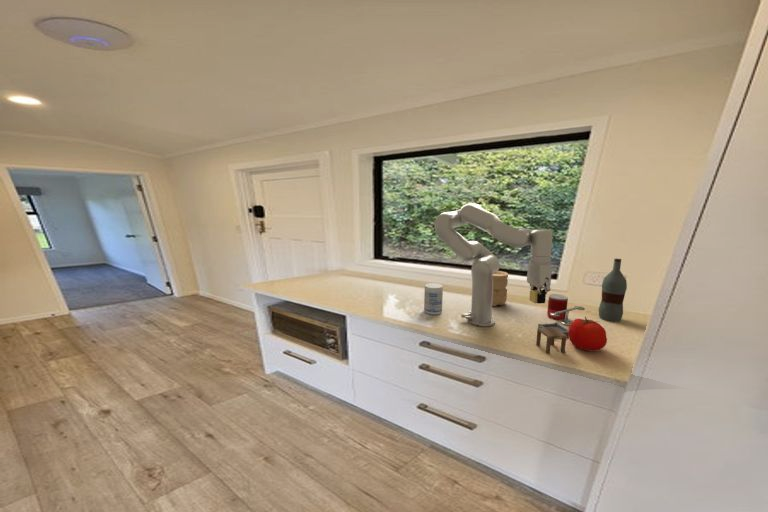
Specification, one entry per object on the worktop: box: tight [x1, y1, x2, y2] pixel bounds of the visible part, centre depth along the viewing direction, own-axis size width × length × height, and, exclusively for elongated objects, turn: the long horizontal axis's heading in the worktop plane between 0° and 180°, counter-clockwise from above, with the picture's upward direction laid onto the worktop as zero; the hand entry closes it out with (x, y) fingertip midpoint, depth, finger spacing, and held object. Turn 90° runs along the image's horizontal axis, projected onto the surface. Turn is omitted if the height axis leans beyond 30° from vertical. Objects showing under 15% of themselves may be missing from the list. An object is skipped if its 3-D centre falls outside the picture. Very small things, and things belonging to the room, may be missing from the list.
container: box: [492, 270, 509, 307], centre depth 159 cm, size 13×13×18 cm
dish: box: [537, 322, 569, 338], centre depth 124 cm, size 9×9×2 cm
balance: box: [550, 305, 585, 327], centre depth 131 cm, size 16×4×8 cm, turn 95°
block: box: [529, 289, 539, 304], centre depth 119 cm, size 4×4×4 cm
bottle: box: [598, 258, 628, 323], centre depth 134 cm, size 9×9×30 cm
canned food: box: [546, 293, 569, 321], centre depth 139 cm, size 8×8×11 cm
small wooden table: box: [535, 327, 568, 355], centre depth 110 cm, size 7×7×7 cm
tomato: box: [568, 316, 608, 352], centre depth 109 cm, size 12×13×12 cm
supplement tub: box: [423, 282, 444, 316], centre depth 148 cm, size 10×10×15 cm
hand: (537, 300), depth 119 cm, fingers closed on block, 4 cm apart
